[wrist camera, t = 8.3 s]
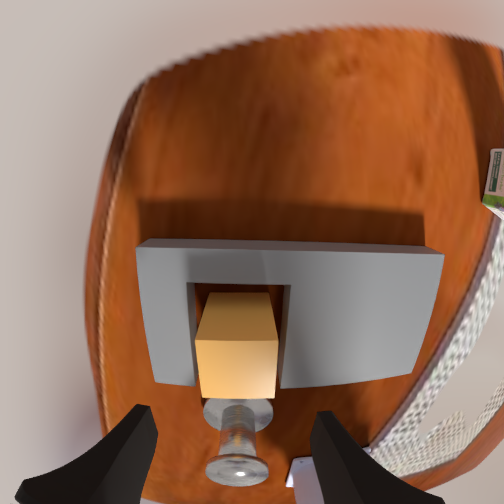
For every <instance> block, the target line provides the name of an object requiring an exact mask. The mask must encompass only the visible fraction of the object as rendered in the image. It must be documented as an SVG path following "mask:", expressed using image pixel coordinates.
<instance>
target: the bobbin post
mask: <svg viewBox="0 0 504 504" xmlns="http://www.w3.org/2000/svg"><path fill="white" fill-rule="evenodd" d="M203 413H204V417H205V419H206V421H207V422H208V423H209V424H210V425H211V426H212V427H214V428H215V429H217V430H219V431H220V443H219V454H218V456H215V457H213V458H211V459H209V460H208V462H207V464H206V475H207V477H208V478H210V479H211V480H213V481H215V482H217V483H220V484H223V485H228V486H250V485H254V484H258V483H260V482H262V481H264V480H265V479H266V478H267V477H268V465H267V463H266V462H265V461H264V460H263V459H261V458H258V457H256V437H255V432H257V431H260V430H262V429H263V428H265V427H266V426H267V425H268V424H269V423H270V422H271V421H272V418H273V406H272V402H271V400H270V399H269V398H264V399H224V398H207V399H206V401H205V405H204V411H203Z"/></svg>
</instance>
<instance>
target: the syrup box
mask: <svg viewBox="0 0 504 504" xmlns="http://www.w3.org/2000/svg"><path fill="white" fill-rule="evenodd" d="M490 155H491V158H490V165H489V170H488V177H487V182H486V188H485V193H484V197H483V200H482V204H483V205H485V206H486V207H487V208H489V209H490V210H491V211H492V212H494V213H495V214H496V215H497V216H499V217H500V218H501V219H502V220H504V149H491V151H490Z"/></svg>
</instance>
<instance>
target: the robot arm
mask: <svg viewBox="0 0 504 504" xmlns="http://www.w3.org/2000/svg"><path fill="white" fill-rule="evenodd" d="M157 437H158V431H157V428H156V425H155V422H154V419H153V415H152V412H151V409H150V406H146V405H140V404H136V405H135V406H134V407H133V408H132V409H131V410H130V412H129V413H128V414H127V415H126V416H125V417H124V418H123V419H122V420H121V421H120V422H119V423H118V424H117V425H116V426H115V427H114V428H113V429H112V430H111V431H110V432H109V433H108V434H107V435H106V436H105V437H104V438H103V439H102V440H100V441H99V442H98V443H97V444H96V445H95V446H93V447H92V448H91V449H89V450H88V451H87V452H85V453H84V454H83V455H81V456H80V457H78V458H76V459H75V460H73V461H71V462H70V463H68V464H66V465H64V466H62V467H60V468H58V469H55V470H53V471H51V472H48V473H46V474H43V475H40V476H37V477H33V478H29V479H25V480H24V481H23V482H22V484H21V486H20V487H19V489H18V491H17V493H16V495H15V500H16V501H17V502H19V503H20V504H140V499H141V494H142V490H143V486H144V483H145V480H146V477H147V474H148V471H149V468H150V465H151V462H152V459H153V456H154V453H155V448H156V443H157ZM310 445H311V453H312V457H302V458H295V459H294V460H293V462H292V465H291V469H290V472H289V475H288V478H287V482H286V487H294V492H295V499H296V504H445V502H444V500H443V499H442V498H441V497H438V496H435V495H432V494H429V493H426V492H424V491H422V490H420V489H417V488H415V487H413V486H411V485H410V484H408V483H406V482H404V481H403V480H401V479H399V478H397V477H396V476H394V475H393V474H392V473H390V472H389V471H387V470H386V469H385V468H383V467H382V466H381V465H380V464H378V463H377V462H376V461H375V460H374V459H373V458H372V457H371V456H370V454H369V452H370V451H371V448H370V447H366V448H362V447H361V446H360V445H359V444H358V443H357V442H356V441H355V440H354V439H353V438H352V436H351V435H350V434H349V433H348V432H347V430H346V429H345V428H344V427H343V425H342V424H341V423H340V421H339V420H338V419H337V417H336V416H335V415H334V413H333V412H332V411H322V412H317V415H316V419H315V422H314V426H313V429H312V432H311V436H310Z"/></svg>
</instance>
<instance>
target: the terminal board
mask: <svg viewBox="0 0 504 504" xmlns="http://www.w3.org/2000/svg"><path fill="white" fill-rule="evenodd" d="M444 256H445V254H442V253H440V252H438V251H436V250H433V249H431V248H429V247H426V246H410V245H386V244H359V243H331V242H299V241H261V240H216V239H153V238H150V239H148V240H146V241H145V242H143V243H141V244H140V245H138V246H137V247H136V260H137V271H138V281H139V290H140V298H141V306H142V313H143V319H144V326H145V332H146V338H147V343H148V349H149V354H150V359H151V364H152V369H153V374H154V378H155V382H159V383H167V384H176V385H186V386H196V381H197V377H198V373H199V371H198V363H197V355H196V346H195V338H196V334H197V321H196V304H195V284H194V283H222V284H269V285H284V295H283V308H282V320H281V332H280V343H279V354H278V364H277V370H278V376H279V383H280V389H281V388H303V387H317V386H329V385H339V384H348V383H356V382H363V381H370V380H376V379H382V378H388V377H393V376H399V375H404V374H408V373H411V372H412V370H413V367H414V365H415V362H416V359H417V357H418V354H419V351H420V348H421V345H422V343H423V340H424V336H425V333H426V330H427V327H428V324H429V320H430V317H431V313H432V310H433V306H434V302H435V298H436V294H437V290H438V286H439V281H440V277H441V272H442V267H443V262H444Z"/></svg>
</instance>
